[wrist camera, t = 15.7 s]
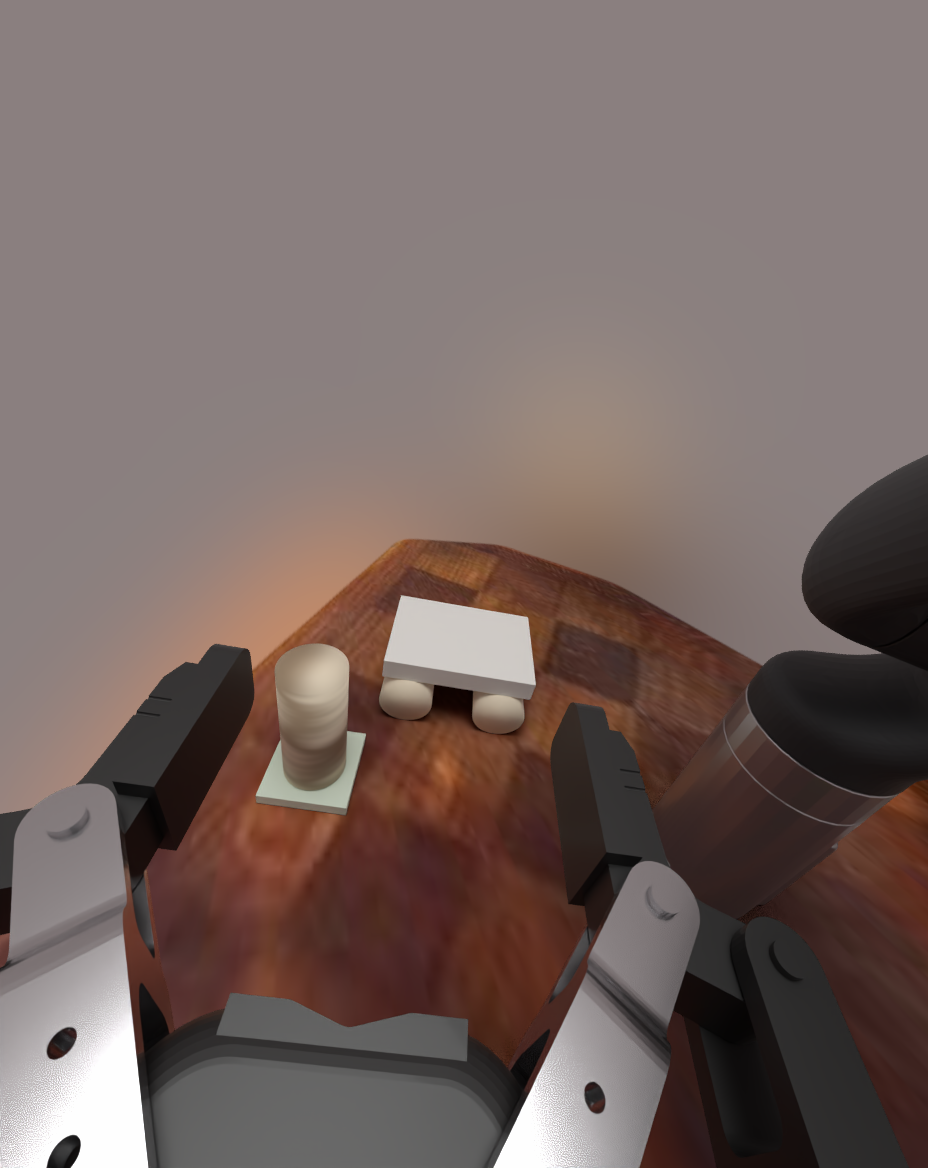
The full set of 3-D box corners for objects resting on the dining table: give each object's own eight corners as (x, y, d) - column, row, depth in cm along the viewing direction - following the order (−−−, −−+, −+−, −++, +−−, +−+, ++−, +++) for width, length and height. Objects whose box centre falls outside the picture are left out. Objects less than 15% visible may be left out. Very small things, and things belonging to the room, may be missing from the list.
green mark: (365, 740, 42) (365, 734, 42) (345, 815, 37) (346, 808, 36) (288, 729, 42) (288, 722, 41) (256, 802, 36) (255, 795, 36)
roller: (353, 743, 41) (357, 650, 35) (335, 795, 37) (336, 699, 31) (296, 733, 41) (291, 638, 35) (272, 784, 36) (261, 687, 30)
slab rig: (512, 659, 55) (527, 614, 51) (517, 737, 46) (536, 689, 42) (395, 640, 54) (401, 592, 50) (377, 715, 45) (382, 664, 41)
